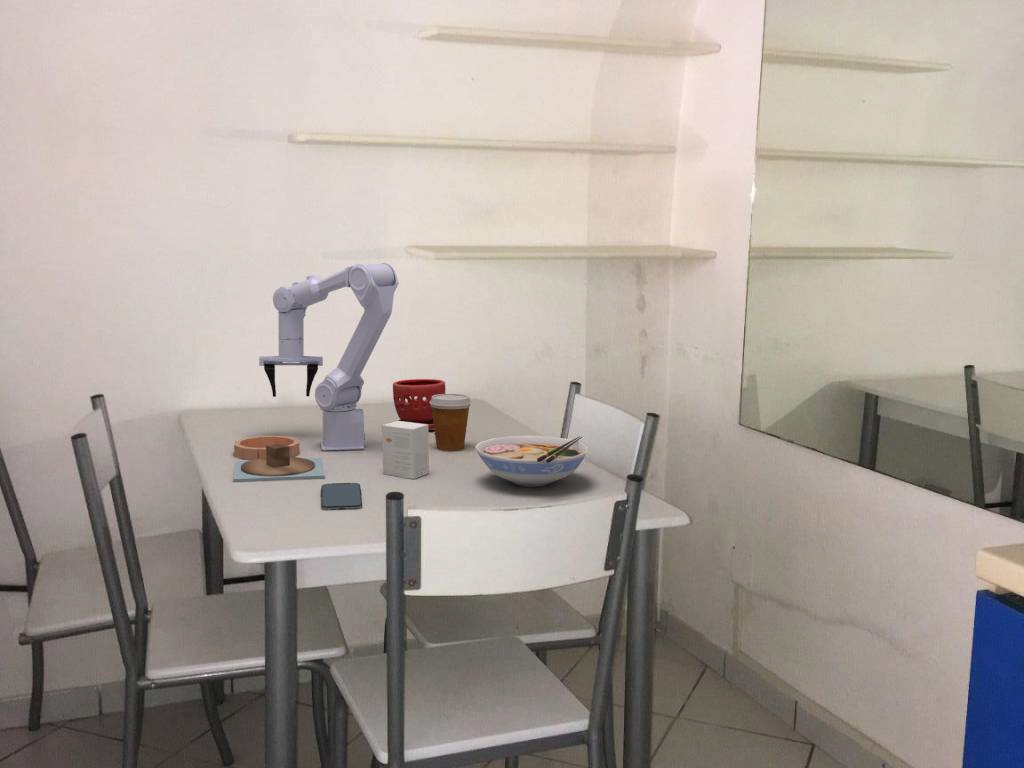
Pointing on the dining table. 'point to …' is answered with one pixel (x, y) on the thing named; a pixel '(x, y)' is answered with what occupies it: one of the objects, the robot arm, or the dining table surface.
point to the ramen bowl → (532, 458)
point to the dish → (263, 446)
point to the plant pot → (417, 407)
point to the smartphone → (341, 496)
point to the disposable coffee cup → (450, 420)
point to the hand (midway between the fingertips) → (291, 395)
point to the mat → (313, 474)
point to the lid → (277, 463)
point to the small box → (405, 449)
